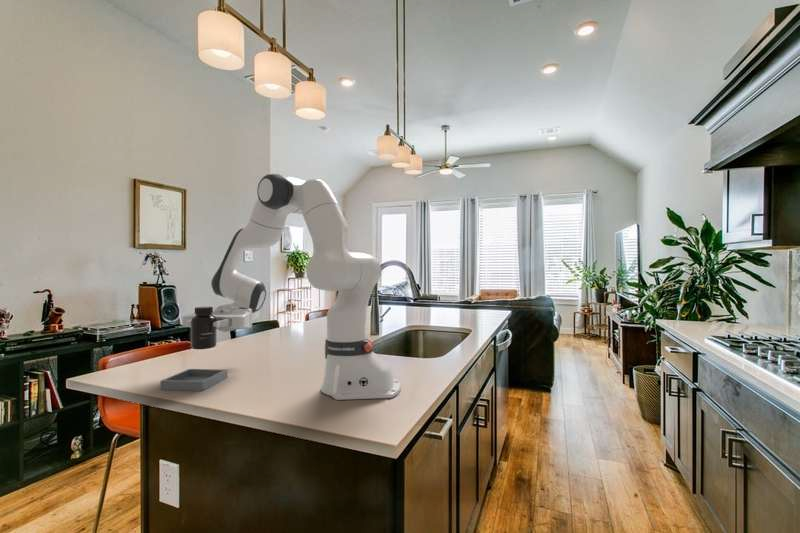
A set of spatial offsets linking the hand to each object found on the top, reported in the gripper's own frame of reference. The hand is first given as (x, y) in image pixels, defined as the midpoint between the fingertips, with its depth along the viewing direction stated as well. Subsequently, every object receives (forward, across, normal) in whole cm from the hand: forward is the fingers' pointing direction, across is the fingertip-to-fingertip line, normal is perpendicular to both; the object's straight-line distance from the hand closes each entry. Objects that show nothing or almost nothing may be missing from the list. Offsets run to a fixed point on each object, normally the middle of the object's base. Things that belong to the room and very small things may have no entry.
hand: (201, 324), depth 112 cm
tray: (0, -2, +18) cm, 18 cm away
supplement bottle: (-1, 0, +7) cm, 7 cm away
